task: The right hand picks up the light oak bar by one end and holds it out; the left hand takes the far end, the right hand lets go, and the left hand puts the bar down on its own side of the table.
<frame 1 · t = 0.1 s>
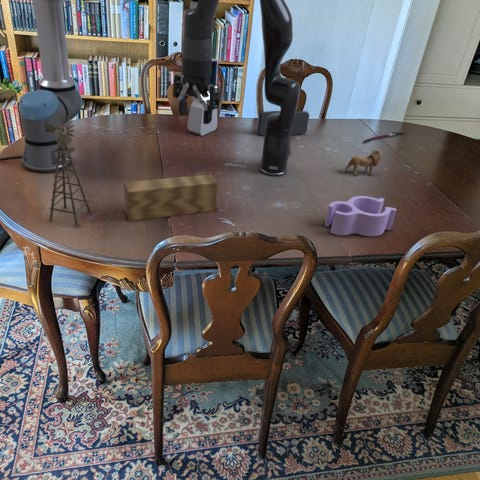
left hand: (199, 88, 153), 28 cm above the table, tool pointing down, fingers open, 13 cm apart
right hand: (194, 119, 125), 29 cm above the table, tool pointing down, fingers open, 8 cm apart
lion figurine: (360, 172, 178), on the table
bar: (171, 210, 141), on the table
miniature windmill: (70, 216, 133), on the table
sword: (384, 138, 214), on the table
electronic device: (202, 131, 200), on the table
clip: (356, 226, 143), on the table
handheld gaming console: (281, 134, 206), on the table
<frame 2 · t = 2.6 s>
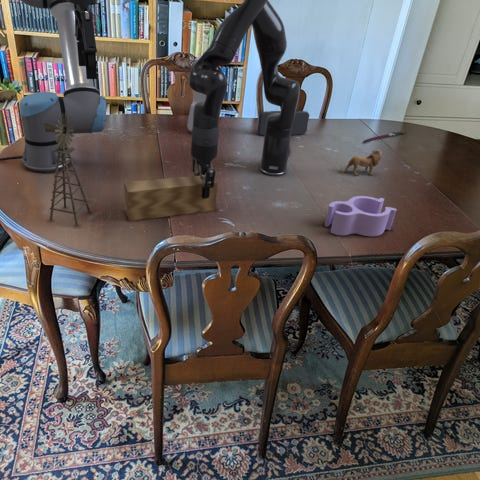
left hand: (87, 72, 130), 36 cm above the table, tool pointing down, fingers open, 13 cm apart
right hand: (201, 192, 142), 5 cm above the table, tool pointing down, fingers closed on bar, 6 cm apart
bar: (171, 210, 141), on the table, touching right hand
everything else where it was.
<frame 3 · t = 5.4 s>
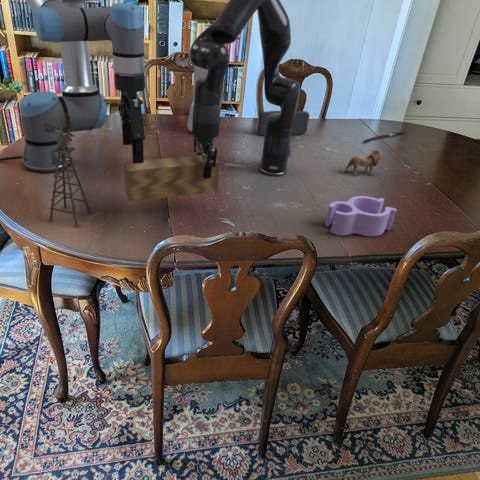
left hand: (132, 153, 128), 19 cm above the table, tool pointing down, fingers open, 13 cm apart
right hand: (203, 172, 138), 12 cm above the table, tool pointing down, fingers closed on bar, 6 cm apart
bar: (172, 191, 137), point 6 cm above the table, touching right hand
everything else where it was.
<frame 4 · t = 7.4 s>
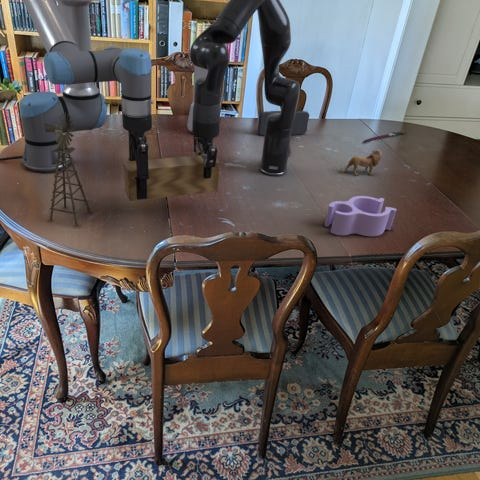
left hand: (139, 192, 133), 7 cm above the table, tool pointing down, fingers closed on bar, 6 cm apart
right hand: (203, 172, 138), 12 cm above the table, tool pointing down, fingers closed on bar, 6 cm apart
bar: (172, 191, 137), point 6 cm above the table, touching left hand, right hand
everything else where it was.
when the right hand's fingers open (12 cm above the table, at t = 8.5 s): bar stays where it is, held by the left hand.
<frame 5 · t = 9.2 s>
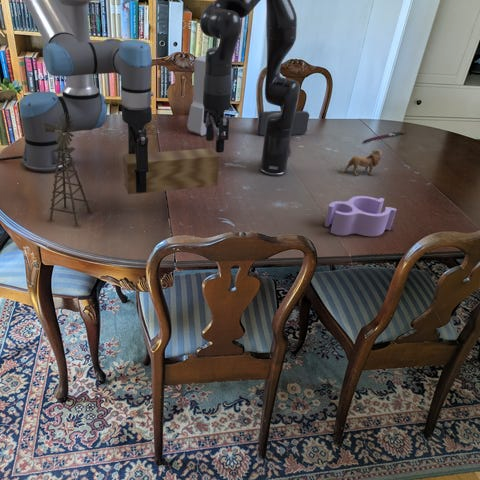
left hand: (138, 186, 132), 9 cm above the table, tool pointing down, fingers closed on bar, 6 cm apart
right hand: (214, 145, 135), 20 cm above the table, tool pointing down, fingers open, 8 cm apart
bar: (171, 185, 136), point 8 cm above the table, touching left hand
everything else where it was.
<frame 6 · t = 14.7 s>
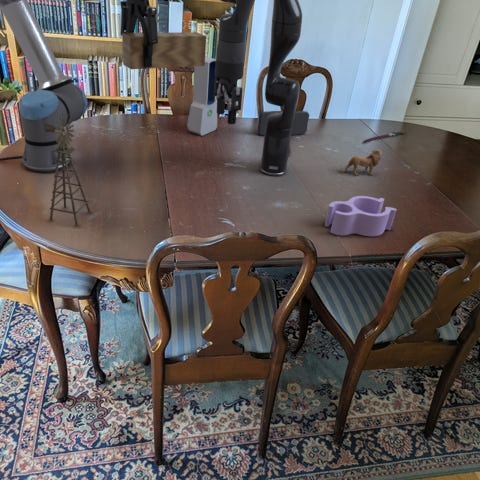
left hand: (139, 64, 147), 35 cm above the table, tool pointing down, fingers closed on bar, 7 cm apart
right hand: (225, 118, 131), 28 cm above the table, tool pointing down, fingers open, 8 cm apart
bar: (165, 65, 152), point 34 cm above the table, touching left hand
everything else where it was.
when the left hand's fingers open (2 cm above the table, at t = 22.0 s): bar drops 1 cm, on the table.
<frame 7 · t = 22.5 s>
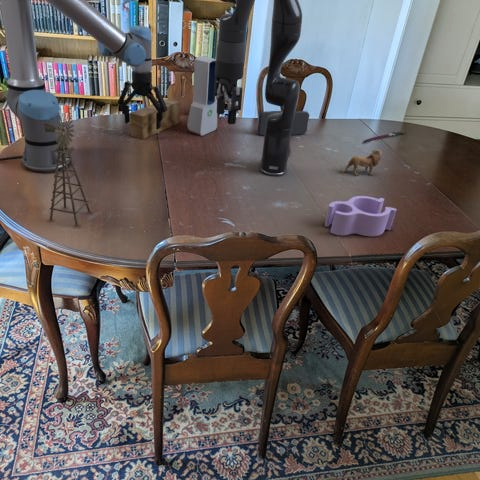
left hand: (142, 125, 188), 4 cm above the table, tool pointing down, fingers open, 13 cm apart
right hand: (225, 118, 131), 28 cm above the table, tool pointing down, fingers open, 8 cm apart
bar: (156, 128, 197), on the table
everything else where it was.
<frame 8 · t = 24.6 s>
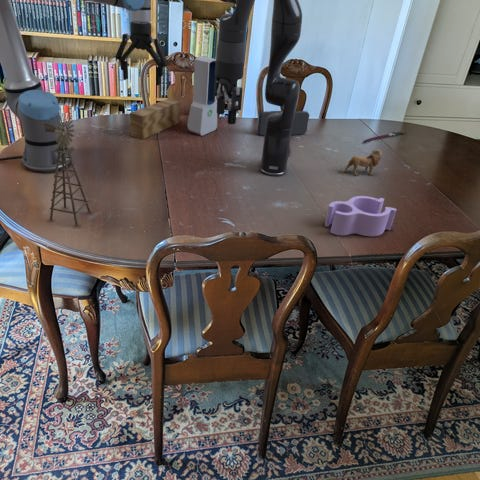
left hand: (142, 82, 179), 21 cm above the table, tool pointing down, fingers open, 13 cm apart
right hand: (225, 118, 131), 28 cm above the table, tool pointing down, fingers open, 8 cm apart
nothing on the table moved.
at the end: bar inside the target area (9.0 cm from its centre), on the table; the left hand is holding nothing; the right hand is holding nothing; bar at rest at the end (0.0 cm/s) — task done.
